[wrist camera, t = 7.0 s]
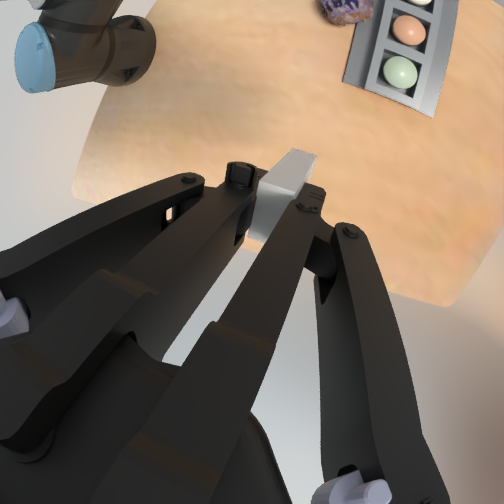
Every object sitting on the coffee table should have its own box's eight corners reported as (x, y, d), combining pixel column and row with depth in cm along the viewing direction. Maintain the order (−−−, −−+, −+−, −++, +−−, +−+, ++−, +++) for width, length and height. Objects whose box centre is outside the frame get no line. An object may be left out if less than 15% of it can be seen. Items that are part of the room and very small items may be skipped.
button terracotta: (389, 39, 26) (391, 36, 24) (394, 14, 23) (396, 10, 22) (418, 51, 25) (422, 49, 23) (423, 27, 23) (427, 23, 21)
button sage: (379, 81, 29) (381, 80, 27) (386, 53, 27) (388, 51, 25) (409, 93, 29) (412, 93, 27) (416, 66, 26) (420, 64, 24)
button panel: (342, 82, 33) (342, 81, 30) (369, -35, 20) (369, -44, 17) (431, 117, 31) (438, 120, 28) (457, 0, 18) (464, -6, 15)
